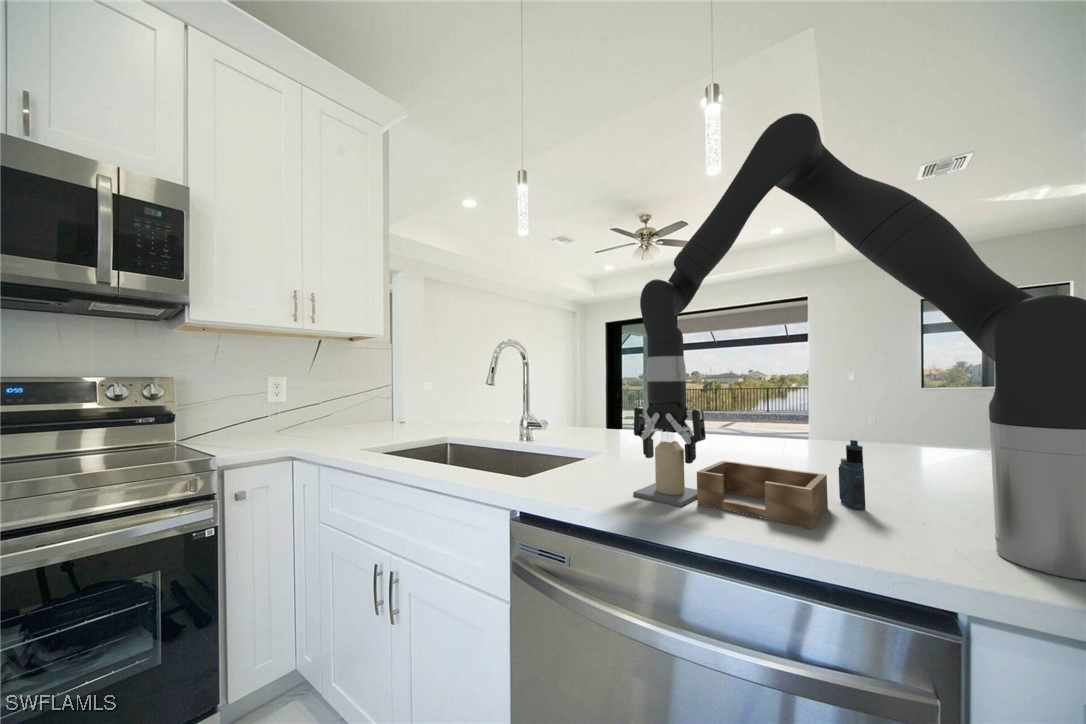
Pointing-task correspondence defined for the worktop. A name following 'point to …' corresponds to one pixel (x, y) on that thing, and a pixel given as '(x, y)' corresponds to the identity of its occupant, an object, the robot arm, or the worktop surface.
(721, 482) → the box
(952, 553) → the worktop surface
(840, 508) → the worktop surface
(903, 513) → the worktop surface
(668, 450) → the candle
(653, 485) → the mat
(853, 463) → the vaping device
